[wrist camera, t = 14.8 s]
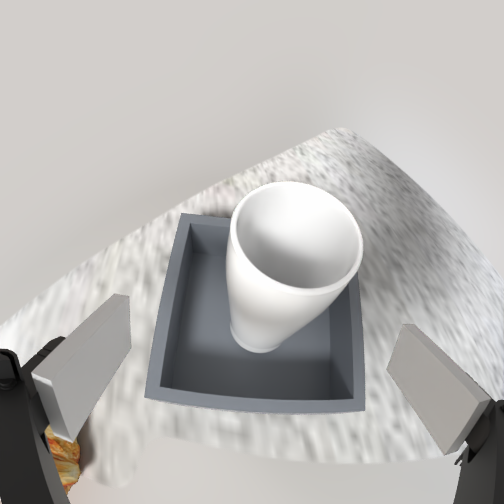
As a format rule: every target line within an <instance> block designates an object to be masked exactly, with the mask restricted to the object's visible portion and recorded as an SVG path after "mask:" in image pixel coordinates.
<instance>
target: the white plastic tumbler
mask: <svg viewBox="0 0 504 504" xmlns="http://www.w3.org/2000/svg"><path fill="white" fill-rule="evenodd" d="M362 257H363V238H362V234H361V230H360V228H359V225H358V223H357V221H356V220H355V218H354V216H353V215H352V213H351V212H350V211H349V210H348V209H347V207H346V206H345V205H344V204H343V203H342V202H340V201H339V200H338V199H337V198H335V197H334V196H333V195H331V194H330V193H328V192H326V191H324V190H322V189H320V188H318V187H315V186H313V185H309V184H306V183H302V182H295V181H278V182H272V183H267V184H264V185H261V186H259V187H257V188H255V189H253V190H252V191H250V192H249V193H248V194H246V195H245V196H244V197H243V198H242V199H241V200H240V202H239V203H238V204H237V206H236V208H235V210H234V212H233V215H232V218H231V224H230V230H229V235H228V242H227V250H226V283H227V292H228V301H229V310H230V330H231V334H232V336H233V338H234V340H235V341H236V342H237V343H238V344H239V345H240V346H241V347H242V348H244V349H246V350H248V351H250V352H254V353H266V352H270V351H273V350H275V349H276V348H278V347H279V346H280V345H281V344H282V343H283V342H284V341H285V340H287V339H288V338H289V337H291V336H292V335H293V334H295V333H296V332H298V331H299V330H300V329H302V328H303V327H305V326H306V325H307V324H309V323H310V322H311V321H313V320H314V319H315V318H317V317H318V316H319V315H320V314H321V313H323V312H324V311H325V310H326V309H327V308H328V307H329V306H330V305H331V304H332V303H333V302H334V301H335V299H336V298H337V297H338V296H339V295H340V293H341V292H342V291H343V290H344V288H345V287H346V286H347V284H348V283H349V282H350V280H351V279H352V277H353V276H354V275H355V274H356V272H357V270H358V268H359V266H360V264H361V261H362Z"/></svg>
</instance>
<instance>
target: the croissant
mask: <svg viewBox="0 0 504 504" xmlns="http://www.w3.org/2000/svg"><path fill="white" fill-rule="evenodd" d="M45 433H46V436H47V438H48V442H49V445H50V449H51V452H52V455H53V459H54V462H55V465H56V468H57V471H58V474H59V476H60V479H61V482H62V484H63V487H64V490H65V492H66V495H67V494H68V491H69V490H70V488H71V486H72V485H73V484H75V483H76V482H78V479H79V476H80V474H81V472H80V469H79V464H78V461H79V459H80V446H79V445H78V443H77V437H76V438H75V440H74V442H73V443H71V442H69V441H66V440H64V439H62V438H59V437H57V436H55V435H54V434H53V431H52V429H51V427H50V424H49V425H48V427H47V428H46V430H45Z"/></svg>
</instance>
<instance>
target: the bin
mask: <svg viewBox="0 0 504 504" xmlns="http://www.w3.org/2000/svg"><path fill="white" fill-rule="evenodd" d="M230 224H231V218H223V217H214V216H205V215H196V214H186V213H181V217H180V220H179V224H178V228H177V232H176V236H175V240H174V244H173V248H172V252H171V256H170V260H169V265H168V269H167V274H166V278H165V283H164V287H163V292H162V297H161V301H160V306H159V311H158V316H157V322H156V327H155V332H154V338H153V344H152V349H151V355H150V362H149V368H148V374H147V381H146V388H145V395H144V397H145V398H148V399H152V400H156V401H160V402H165V403H171V404H177V405H183V406H190V407H197V408H205V409H213V410H222V411H233V412H245V413H262V414H337V413H349V412H358V411H365V363H364V342H363V326H362V313H361V302H360V291H359V282H358V273H357V272H356V274H355V275H354V276H353V277H352V279H351V280H350V282H349V283H348V284H347V286H346V287H345V288H344V290H343V291H342V292H341V293H340V295H339V296H338V297H337V298H336V299H335V301H334V302H333V303H332V304H331V305H330V306H329V307H328V308H327V309H326V310H325V311H324V312H323V313H321V314H320V315H319V316H318V317H317V318H315V319H314V320H313V321H311V322H310V323H309V324H307V325H306V326H305V327H303V328H302V329H300V330H299V331H298V332H296V333H295V334H293V335H292V336H291V337H289V338H288V339H287V340H285V341H284V342H283V343H282V344H281V345H280V346H279V347H278V348H276V349H275V350H273V351H270V352H266V353H254V352H250V351H248V350H246V349H244V348H242V347H241V346H240V345H239V344H238V343H237V342H236V341H235V340H234V338H233V336H232V334H231V330H230V310H229V301H228V292H227V283H226V250H227V242H228V235H229V230H230Z"/></svg>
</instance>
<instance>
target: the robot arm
mask: <svg viewBox="0 0 504 504" xmlns="http://www.w3.org/2000/svg"><path fill="white" fill-rule="evenodd" d="M130 349H131V332H130V305H129V296H125V295H119V294H113V295H112V296H111V297H110V298H109V299H108V300H107V301H106V302H104V303H103V304H102V305H101V306H100V307H99V308H98V309H97V310H96V311H95V312H93V313H92V314H91V315H90V316H89V317H88V318H87V319H86V320H85V321H84V322H83V323H82V324H80V325H79V326H78V327H77V328H76V329H75V330H74V331H73V332H72V333H71V334H70V335H69V336H68V337H67V338H65V337H62V336H60V337H58V338H55V339H53V340H51V341H49V342H48V343H47V344H46V345H45V346H44V347H43V349H41V350H40V351H39V352H37V355H36V354H35V355H34V356H33V357H32V358H31V359H30V360H29V361H28V362H27V363H26V364H25V365H24V366H23V367H22V368H21V367H20V364H19V360H18V357H17V354H15V353H14V352H13V351H11V350H8V349H0V498H1V502H2V504H70V502H69V500H68V497H67V495H66V492H65V490H64V487H63V484H62V482H61V479H60V476H59V474H58V471H57V468H56V465H55V462H54V459H53V455H52V452H51V449H50V445H49V442H48V438H47V436H46V433H45V430H46V428H47V427H48V425H49V424H50V427H51V429H52V431H53V434H54V435H55V436H57V437H59V438H62V439H64V440H66V441H69V442H71V443H73V442H74V440H75V438H76V437H77V435H78V433H79V431H80V430H81V428H82V426H83V425H84V423H85V421H86V420H87V418H88V416H89V415H90V413H91V411H92V410H93V408H94V406H95V405H96V403H97V401H98V400H99V398H100V396H101V395H102V393H103V392H104V390H105V388H106V387H107V385H108V384H109V382H110V380H111V379H112V377H113V376H114V374H115V372H116V371H117V369H118V368H119V366H120V365H121V363H122V362H123V360H124V358H125V357H126V355H127V354H128V352H129V351H130ZM386 370H387V371H388V373H389V374H390V376H391V377H392V378H393V380H394V381H395V383H396V384H397V386H398V387H399V388H400V390H401V391H402V393H403V394H404V396H405V397H406V399H407V400H408V402H409V403H410V405H411V406H412V408H413V409H414V410H415V412H416V413H417V415H418V416H419V418H420V419H421V421H422V422H423V424H424V425H425V427H426V428H427V430H428V432H429V433H430V435H431V436H432V438H433V439H434V441H435V442H436V444H437V445H438V447H439V448H440V450H441V452H442V453H443V455H447V454H450V453H453V452H456V451H458V449H459V448H460V446H461V445H462V444H463V442H464V441H466V442H467V444H468V446H467V447H466V448H465V450H464V451H463V452H462V454H461V455H460V456H459V458H458V459H457V460H456V462H455V465H457V463H458V462H459V461H460V460H462V463H461V464H460V466H461V472H460V477H459V481H458V486H457V491H456V495H455V499H454V503H453V504H504V400H498V401H497V402H495V401H494V400H493V399H492V398H491V397H490V396H489V395H488V394H487V393H486V392H485V391H484V390H483V389H482V388H481V387H480V386H479V385H478V384H477V383H476V382H475V381H474V380H473V379H472V378H471V377H470V376H469V375H468V374H467V373H466V372H464V371H463V370H462V369H461V368H460V367H459V366H458V365H457V364H456V363H455V362H454V361H453V360H452V359H451V358H450V357H449V356H448V355H447V354H446V353H445V352H444V351H443V350H442V349H440V348H439V347H438V346H437V345H436V344H435V343H434V342H433V341H432V340H431V339H430V338H429V337H428V336H426V335H425V334H424V333H423V332H422V331H421V330H420V329H419V328H418V327H417V326H416V325H414V324H403V325H402V328H401V331H400V334H399V337H398V340H397V342H396V345H395V348H394V351H393V354H392V356H391V359H390V362H389V364H388V367H387V369H386Z"/></svg>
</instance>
